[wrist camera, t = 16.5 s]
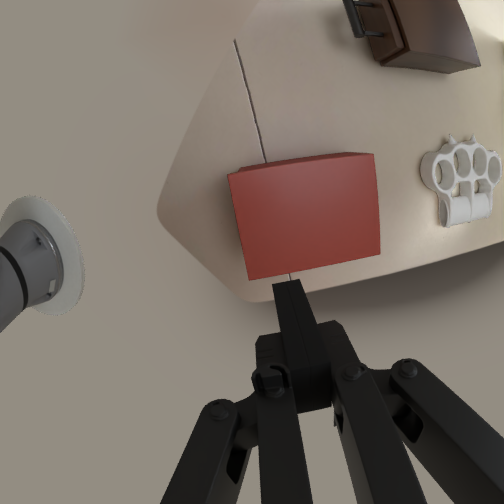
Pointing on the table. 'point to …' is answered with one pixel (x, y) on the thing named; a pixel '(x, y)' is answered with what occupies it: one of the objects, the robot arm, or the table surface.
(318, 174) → the lid
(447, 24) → the cabinet
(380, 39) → the drawer
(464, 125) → the table surface
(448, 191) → the white brass knuckles
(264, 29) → the table surface
